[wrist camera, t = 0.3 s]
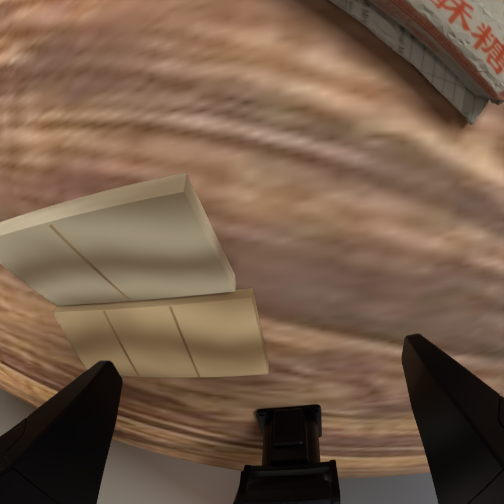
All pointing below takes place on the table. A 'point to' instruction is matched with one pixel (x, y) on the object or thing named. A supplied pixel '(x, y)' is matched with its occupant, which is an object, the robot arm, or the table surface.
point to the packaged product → (444, 44)
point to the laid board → (170, 335)
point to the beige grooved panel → (119, 246)
